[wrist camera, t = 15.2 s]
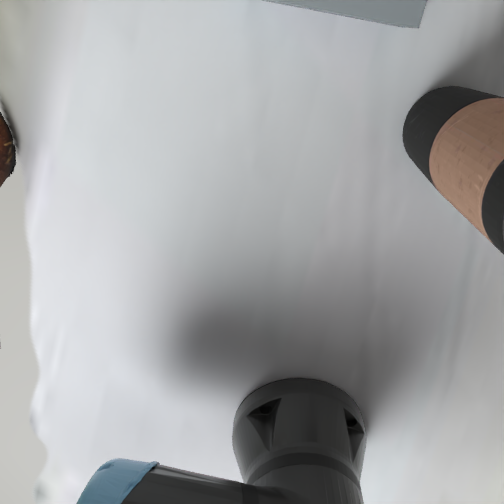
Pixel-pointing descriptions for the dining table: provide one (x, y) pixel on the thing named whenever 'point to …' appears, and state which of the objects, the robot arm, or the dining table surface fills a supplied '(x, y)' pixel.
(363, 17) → the socket board
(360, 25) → the dining table surface
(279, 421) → the robot arm
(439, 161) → the travel mug
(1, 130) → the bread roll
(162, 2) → the dining table surface
